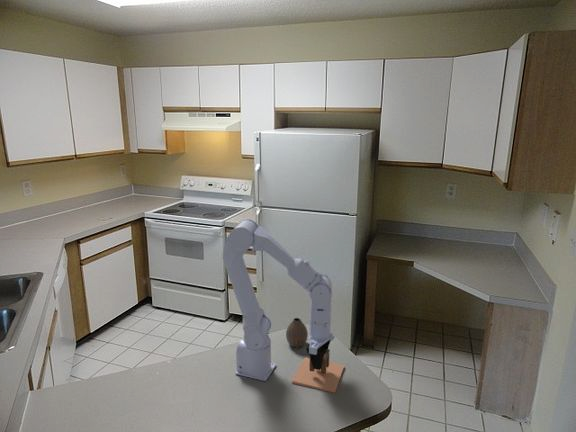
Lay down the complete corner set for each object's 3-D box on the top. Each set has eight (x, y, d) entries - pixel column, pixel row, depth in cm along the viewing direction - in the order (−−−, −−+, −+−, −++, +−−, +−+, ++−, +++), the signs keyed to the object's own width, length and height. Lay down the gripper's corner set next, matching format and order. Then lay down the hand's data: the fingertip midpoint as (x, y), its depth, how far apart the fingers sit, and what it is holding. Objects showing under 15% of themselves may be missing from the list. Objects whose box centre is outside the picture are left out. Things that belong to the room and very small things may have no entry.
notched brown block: (325, 374, 110) (325, 358, 109) (309, 370, 111) (309, 354, 110) (329, 365, 114) (329, 349, 113) (314, 361, 115) (314, 346, 114)
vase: (306, 338, 132) (306, 314, 130) (308, 350, 125) (308, 324, 123) (285, 338, 132) (285, 314, 130) (286, 350, 125) (286, 325, 123)
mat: (292, 383, 110) (292, 381, 109) (305, 359, 121) (305, 357, 120) (334, 392, 106) (335, 390, 106) (344, 367, 117) (344, 365, 117)
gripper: (328, 335, 101) (326, 381, 104) (340, 310, 114) (339, 352, 118) (301, 330, 103) (301, 376, 107) (316, 306, 117) (315, 347, 120)
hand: (319, 363), depth 112 cm, fingers closed on notched brown block, 4 cm apart
